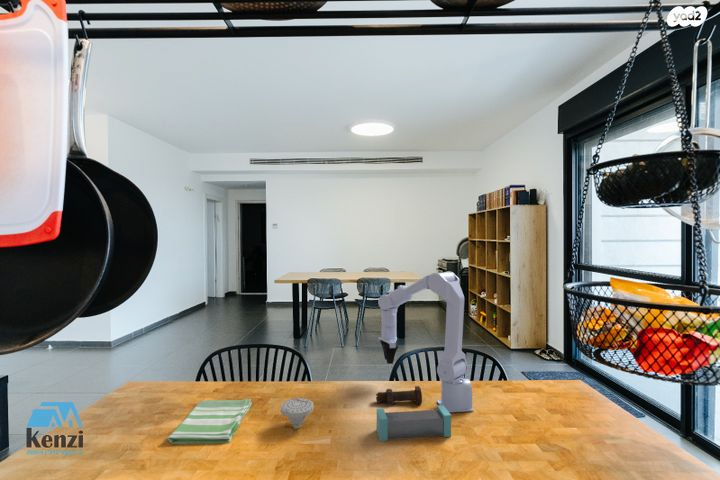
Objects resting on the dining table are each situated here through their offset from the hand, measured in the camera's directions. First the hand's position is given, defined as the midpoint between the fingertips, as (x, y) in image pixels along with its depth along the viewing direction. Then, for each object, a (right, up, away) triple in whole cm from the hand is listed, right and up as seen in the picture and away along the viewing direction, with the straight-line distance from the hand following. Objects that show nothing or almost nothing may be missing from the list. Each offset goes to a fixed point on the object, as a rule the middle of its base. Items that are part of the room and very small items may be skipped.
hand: (388, 361), depth 136 cm
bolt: (+2, -9, -16) cm, 18 cm away
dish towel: (-55, -9, -29) cm, 63 cm away
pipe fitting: (+4, -8, -35) cm, 36 cm away
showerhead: (-29, -9, -32) cm, 44 cm away
